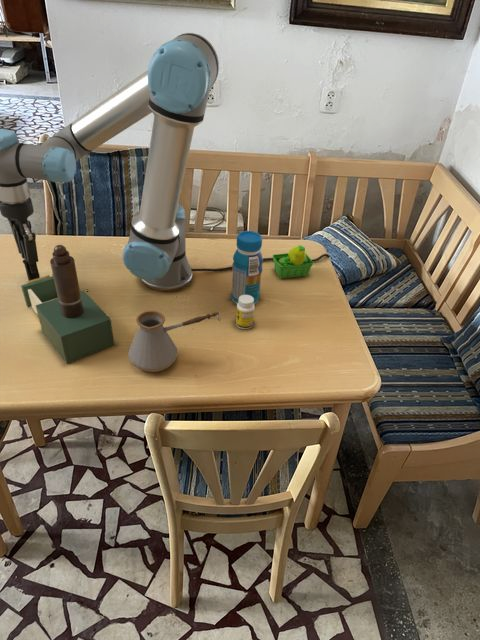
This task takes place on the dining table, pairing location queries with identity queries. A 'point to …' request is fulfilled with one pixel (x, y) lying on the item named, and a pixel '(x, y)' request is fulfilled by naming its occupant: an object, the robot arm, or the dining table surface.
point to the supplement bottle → (245, 312)
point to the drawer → (39, 291)
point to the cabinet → (76, 329)
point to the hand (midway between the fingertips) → (34, 280)
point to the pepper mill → (66, 283)
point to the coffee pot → (156, 341)
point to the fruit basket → (292, 263)
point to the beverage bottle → (247, 266)
